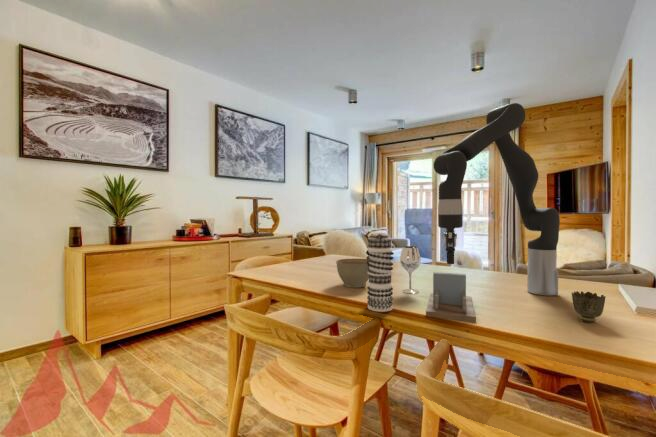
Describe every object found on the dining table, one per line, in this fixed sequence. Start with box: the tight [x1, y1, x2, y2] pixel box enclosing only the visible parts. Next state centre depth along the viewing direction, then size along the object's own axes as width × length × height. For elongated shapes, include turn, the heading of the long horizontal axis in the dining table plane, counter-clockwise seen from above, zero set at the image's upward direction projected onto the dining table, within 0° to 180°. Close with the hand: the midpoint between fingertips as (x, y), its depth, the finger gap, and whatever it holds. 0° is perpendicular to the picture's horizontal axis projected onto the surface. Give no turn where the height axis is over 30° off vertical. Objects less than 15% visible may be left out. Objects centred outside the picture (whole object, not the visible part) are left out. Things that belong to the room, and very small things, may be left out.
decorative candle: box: [365, 232, 395, 313], centre depth 101 cm, size 9×9×25 cm
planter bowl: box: [335, 258, 369, 289], centre depth 132 cm, size 16×16×11 cm
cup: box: [571, 290, 607, 324], centre depth 87 cm, size 8×7×8 cm
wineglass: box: [399, 245, 422, 295], centre depth 121 cm, size 8×8×18 cm
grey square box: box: [432, 271, 467, 306], centre depth 100 cm, size 2×10×10 cm, turn 68°
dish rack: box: [425, 290, 477, 323], centre depth 100 cm, size 22×14×6 cm, turn 158°
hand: (450, 261), depth 100 cm, fingers open, 8 cm apart
